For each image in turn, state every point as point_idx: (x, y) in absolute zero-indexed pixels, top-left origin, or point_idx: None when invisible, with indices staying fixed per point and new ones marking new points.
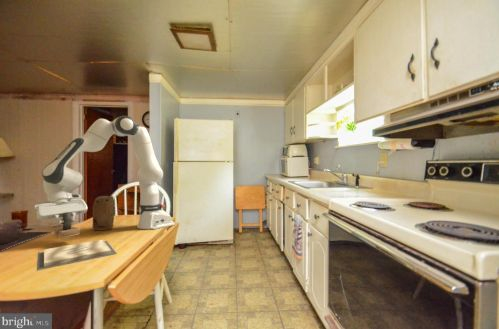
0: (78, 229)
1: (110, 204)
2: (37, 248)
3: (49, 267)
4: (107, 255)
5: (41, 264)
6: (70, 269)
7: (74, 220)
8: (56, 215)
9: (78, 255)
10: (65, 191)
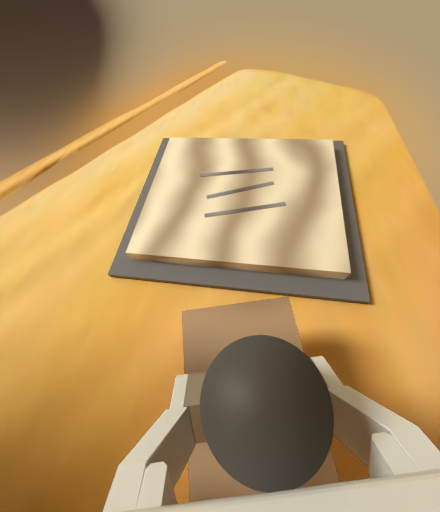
0: (189, 311)
1: None
2: None
3: None
4: None
5: (337, 169)
6: (273, 124)
7: (183, 376)
8: (428, 464)
9: (249, 144)
10: None
